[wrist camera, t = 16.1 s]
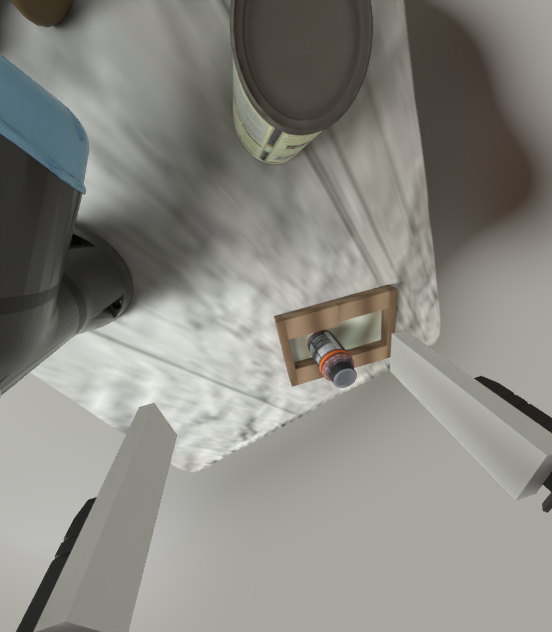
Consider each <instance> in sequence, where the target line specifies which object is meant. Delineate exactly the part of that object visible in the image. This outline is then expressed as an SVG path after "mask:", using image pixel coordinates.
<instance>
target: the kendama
mask: <svg viewBox="0 0 552 632" xmlns="http://www.w3.org/2000/svg"><path fill="white" fill-rule="evenodd" d="M11 1H12V2H13V4H14V5H15V6H16V7H17V9H18V10H19V11H20V12H21V13H22V14H23V16H25V17H26V18H27V19H28V20H30V21H31V22H33V23H35V24H36V25H38V26H44V27H50V26H52V25H55V24H57V23H59V22H60V21H61V20H62V19H63V18H64V17H65V16H66V14H67V12H68V10H69V8H70V6H71V1H72V0H11Z"/></svg>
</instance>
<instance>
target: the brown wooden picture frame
mask: <svg viewBox="0 0 552 632" xmlns="http://www.w3.org/2000/svg"><path fill="white" fill-rule="evenodd" d="M396 300H397V289H396V288H394V287H392V286H390V285H386V286H383V287H379V288H375V289H372V290H368V291H365V292H361V293H357V294H354V295H350V296H347V297H343V298H339V299H336V300H332V301H329V302H325V303H321V304H318V305H314V306H310V307H307V308H303V309H300V310H296V311H292V312H289V313H285V314H282V315H278V316H274V319H275V323H276V327H277V331H278V335H279V339H280V343H281V347H282V351H283V355H284V359H285V363H286V367H287V371H288V375H289V379H290V382H291V385H292V386H296V385H299V384H302V383H306V382H309V381H312V380H316V379H319V378H322V377H324V376H323V375H322V374H321V372H320V370H319V368H318V366H317V364H316V363H315V361H314V359H313V357H312V355H311V353H310V352H309V349H308V346H307V343H308V340H309V338H310V336H311V335H312V334H313V333H315V332H318V331H322V330H327V331H330V332H331V333H332V334H333V335H334V336H335V337H336V338H337V340H338V341H339V342H340V343H341V344H342V346H343V347H344V348H345V349H346V351H347V352H348V353H349V354H350V356H351V357H352V358H353V360H354V368H356V367H359V366H362V365H366V364H369V363H372V362H376V361H379V360H383V359H386V358H389V357H391V338H392V333H394V332H395V316H396Z"/></svg>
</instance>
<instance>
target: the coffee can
mask: <svg viewBox="0 0 552 632" xmlns="http://www.w3.org/2000/svg"><path fill="white" fill-rule="evenodd" d="M372 35H373V17H372V6H371V0H231V6H230V36H231V46H232V60H233V108H232V110H233V120H234V125H235V128H236V132H237V134H238V136H239V138H240V140H241V142H242V144H243V145H244V147H245V149H246V150H247V151H248V152H249V153H250V154H251V155H252V156H254V157H255V158H256V159H258V160H260V161H262V162H264V163H268V164H281V163H284V162H287V161H289V160H290V159H292V158H293V157H295V156H296V155H297V154H298V153H299V152H300V150H302V149H303V148H304V147H305V146H306V145H307V144H308V143H309V142H311V141H312V140H313V139H314V138H315V137H316V136H317V135H319V134H320V133H321V132H322V131H323V130H324V129H326V128H328V127H330V126H331V125H332V124H334V123H335V122H336V121H337V120H338V119H340V118H341V117H342V116H343V114H344V113H345V112H346V111H347V110H348V108H349V107H350V106H351V104H352V103H353V101H354V100H355V98H356V96H357V94H358V92H359V91H360V88H361V86H362V84H363V81H364V78H365V75H366V72H367V68H368V64H369V59H370V54H371V46H372Z"/></svg>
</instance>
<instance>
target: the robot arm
mask: <svg viewBox="0 0 552 632" xmlns="http://www.w3.org/2000/svg"><path fill="white" fill-rule="evenodd" d="M88 154H89V141H88V137H87V134H86V132H85V130H84V128H83V126H82V124H81V123H80V121H79V120H78V119H77V118H76V116H75V115H74V114H73V113H72V112H71V111H70V110H69V109H68V108H67V107H66V106H65V105H64V104H63V103H62V102H60V101H59V100H58V99H57V98H55V97H54V96H53V95H52V94H50V93H49V92H48V91H47V90H45V89H44V88H43V87H42V86H40V85H39V84H38V83H37V82H35V81H34V80H33V79H32V78H30V77H29V76H28V75H26V74H25V73H24V72H23V71H21V70H20V69H19V68H17V67H16V66H15V65H14V64H12V63H11V62H10V61H8V60H7V59H6V58H4V57H3V56H2V55H0V398H1V395H2V394H3V393H5V392H6V391H7V390H8V389H10V388H11V387H12V386H13V385H15V384H16V383H17V382H18V381H19V380H21V379H22V378H23V377H24V376H26V375H27V374H28V373H29V372H30V371H32V370H33V369H34V368H35V367H37V366H38V365H39V364H40V363H41V362H43V361H44V360H45V359H46V358H48V357H49V356H50V355H51V354H52V353H54V352H55V351H56V350H57V349H59V348H60V347H61V346H62V345H63V344H65V343H66V342H67V341H68V340H70V339H71V338H72V337H73V336H75V335H77V334H80V333H84V332H87V331H90V330H94V329H97V328H100V327H103V326H105V325H107V324H109V323H111V322H112V321H114V320H115V319H116V318H117V317H118V316H119V315H121V314H122V313H123V312H124V311H125V309H126V308H127V307H128V305H129V303H130V301H131V298H132V293H133V284H132V279H131V275H130V272H129V270H128V268H127V266H126V264H125V263H124V261H123V260H122V258H121V257H120V256H119V254H118V253H117V252H116V251H115V250H114V249H113V248H112V247H111V246H110V245H109V244H107V243H106V242H105V241H104V240H102V239H101V238H99V237H98V236H96V235H94V234H93V233H91V232H89V231H87V230H84V229H82V228H79V227H76V226H75V222H76V218H77V214H78V210H79V206H80V202H81V198H82V194H84V195H85V193H86V188H85V186H84V178H85V172H86V166H87V160H88ZM390 371H391V372H392V373H393V374H394V375H395V376H396V377H397V378H398V380H399V381H400V382H401V383H402V384H403V385H404V386H405V387H406V388H407V389H408V390H409V391H410V392H411V393H412V394H413V395H414V396H415V397H416V398H417V399H418V400H419V401H420V402H421V403H422V404H423V405H424V406H425V407H426V408H427V409H428V410H429V412H430V413H431V414H432V415H433V416H434V417H435V418H436V419H437V420H438V421H439V422H440V423H441V424H442V425H443V426H444V427H445V428H446V429H447V430H448V431H449V432H450V433H451V434H452V435H453V436H454V437H455V438H456V439H457V440H458V441H459V442H460V444H461V445H463V446H464V448H465V449H466V450H467V451H468V452H469V453H470V454H471V455H472V456H473V457H474V458H475V459H476V460H477V461H478V462H479V463H480V464H481V465H482V466H483V467H484V468H485V469H486V470H487V471H488V472H489V473H490V474H491V476H492V477H493V478H494V479H496V481H497V482H498V483H499V484H500V485H501V486H502V487H503V488H504V489H505V490H506V491H507V492H508V493H509V494H510V495H511V496H512V497H513V498H514V499H515V500H519V499H522V498H524V497H527V496H530V495H533V494H536V493H537V491H538V490H539V489H540V487H541V486H542V485H544V486H545V487H546V488H548V489H549V490H550V491H551V494H550V495H549V496H548V497H547V498H546V500H545V501H544V502H543V503H542V507H543V511H545V512H549V511H550V510H551V509H552V418H551V417H550V416H548V415H546V414H545V413H543V412H542V411H540V410H539V409H537V408H536V407H534V406H533V405H531V404H528V403H527V401H525V400H524V399H522V398H521V397H519V396H518V395H514V393H513V392H511V391H510V390H508V389H507V388H505V387H504V386H502V385H501V384H499V383H497V382H495V381H492V380H490V379H487V378H485V377H482V376H480V377H477V378H472V377H471V376H470V375H468V374H467V373H465V372H464V371H462V370H461V369H459V368H458V367H457V366H455V365H454V364H452V363H451V362H450V361H448V360H447V359H445V358H444V357H443V356H441V355H440V354H438V353H437V352H435V351H434V350H433V349H431V348H430V347H428V346H427V345H426V344H424V343H423V342H421V341H420V340H418V339H417V338H416V337H414V336H413V335H411V334H410V333H408V332H407V331H406V330H402V331H399V332H395V333H392V338H391V357H390ZM176 437H177V434H176V433H175V431H174V430H173V429H172V427H171V426H170V424H169V423H168V422H167V420H166V419H165V417H164V416H163V415H162V413H161V412H160V410H159V409H158V408H157V406H156V405H155V403H152V404H149V405H145V406H142V407H139V409H138V411H137V413H136V415H135V417H134V420H133V422H132V424H131V426H130V428H129V430H128V432H127V434H126V437H125V439H124V441H123V443H122V445H121V447H120V449H119V452H118V453H117V456H116V458H115V460H114V462H113V464H112V466H111V468H110V471H109V473H108V475H107V477H106V479H105V481H104V483H103V485H102V487H101V490H100V492H99V494H98V496H97V497H96V498H93V499H89V500H88V501H87V502H86V504H85V505H84V506H83V508H82V509H81V510H80V511H79V513H78V514H77V515H76V517H75V518H74V520H73V522H72V524H71V526H70V528H69V529H68V531H67V533H66V536H65V537H64V542H63V543H61V545H60V547H59V549H58V551H57V553H56V555H55V559H54V560H53V561H52V563H51V565H50V566H49V568H48V570H47V572H46V574H45V576H44V578H43V580H42V582H41V584H40V586H39V588H38V590H37V592H36V594H35V596H34V598H33V600H32V602H31V604H30V605H29V607H28V609H27V611H26V613H25V615H24V617H23V619H22V621H21V623H20V625H19V627H18V629H17V631H16V632H128V631H129V627H130V623H131V619H132V615H133V610H134V607H135V603H136V598H137V595H138V590H139V587H140V582H141V579H142V575H143V570H144V566H145V562H146V558H147V554H148V550H149V546H150V542H151V538H152V534H153V530H154V526H155V522H156V518H157V514H158V510H159V506H160V502H161V498H162V494H163V489H164V486H165V482H166V477H167V473H168V469H169V465H170V461H171V457H172V453H173V449H174V445H175V441H176Z"/></svg>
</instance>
